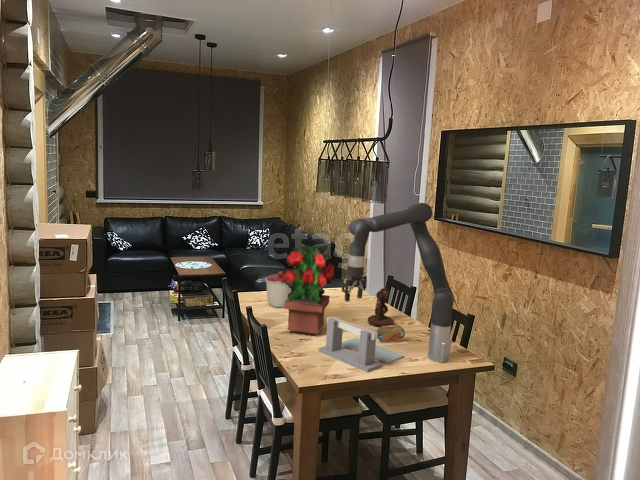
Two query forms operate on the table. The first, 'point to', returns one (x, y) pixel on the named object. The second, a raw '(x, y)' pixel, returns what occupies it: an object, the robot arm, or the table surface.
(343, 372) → the table surface
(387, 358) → the mat
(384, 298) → the brown statuette
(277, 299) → the canister
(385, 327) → the tin
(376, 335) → the steel bar
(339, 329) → the rack
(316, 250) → the potted plant
